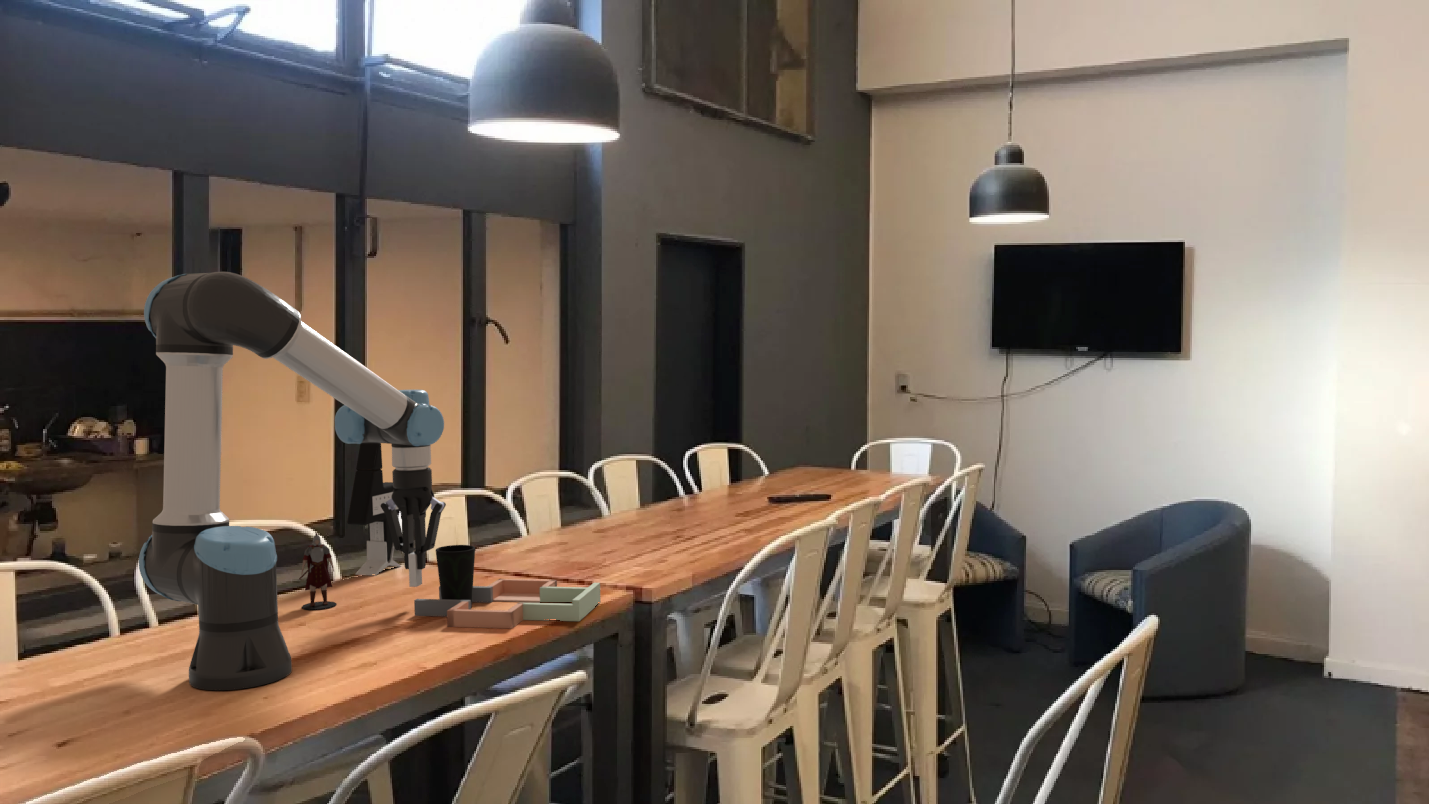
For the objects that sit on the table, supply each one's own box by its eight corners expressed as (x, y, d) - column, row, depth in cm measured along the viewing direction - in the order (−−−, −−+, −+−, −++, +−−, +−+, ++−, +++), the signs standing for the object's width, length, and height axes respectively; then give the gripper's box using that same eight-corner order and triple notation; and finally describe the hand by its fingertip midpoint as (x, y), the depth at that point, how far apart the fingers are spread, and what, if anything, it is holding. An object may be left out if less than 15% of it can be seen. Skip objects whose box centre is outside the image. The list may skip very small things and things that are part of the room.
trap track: (398, 625, 211) (397, 604, 210) (455, 591, 238) (455, 573, 238) (569, 629, 205) (569, 608, 205) (608, 595, 232) (608, 576, 232)
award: (367, 578, 253) (362, 445, 251) (347, 576, 255) (343, 444, 253) (406, 564, 268) (402, 438, 266) (387, 563, 269) (383, 438, 267)
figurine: (302, 611, 222) (299, 536, 221) (299, 604, 229) (297, 531, 228) (338, 608, 225) (335, 533, 224) (334, 600, 232) (331, 528, 231)
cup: (485, 606, 224) (483, 546, 224) (457, 614, 218) (455, 553, 217) (457, 602, 228) (455, 543, 228) (429, 610, 222) (427, 549, 221)
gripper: (450, 465, 226) (454, 581, 227) (389, 465, 228) (393, 580, 229) (435, 469, 218) (439, 590, 220) (372, 469, 220) (376, 588, 222)
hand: (415, 585), depth 224 cm, fingers closed
